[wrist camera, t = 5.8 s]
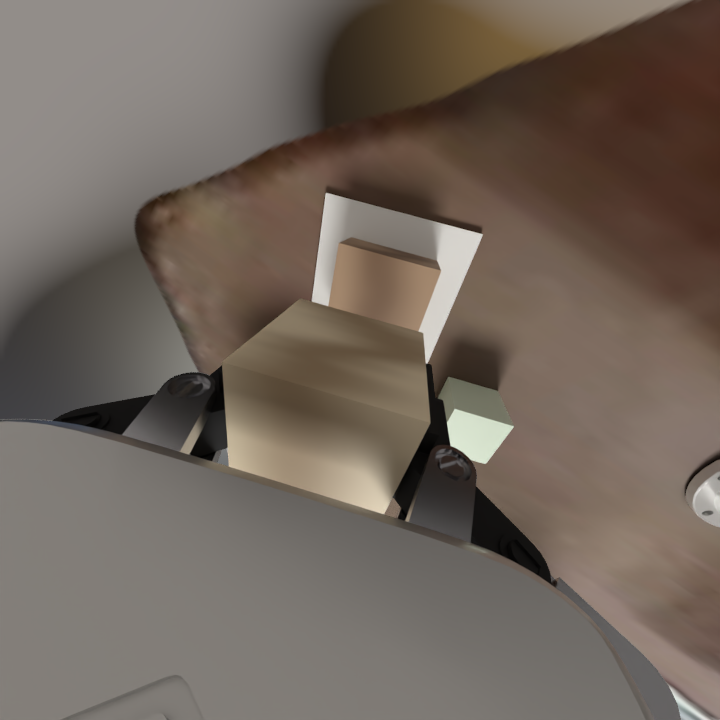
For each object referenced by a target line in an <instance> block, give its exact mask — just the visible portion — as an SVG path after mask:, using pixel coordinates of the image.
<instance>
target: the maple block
mask: <svg viewBox="0 0 720 720" xmlns="http://www.w3.org/2000/svg"><path fill="white" fill-rule="evenodd" d="M222 371H223V386H224V400H225V414H226V429H227V443H228V457H229V467H232V468H235V469H238V470H242V471H245V472H248V473H251V474H255V475H258V476H261V477H265V478H268V479H271V480H274V481H278V482H281V483H284V484H287V485H291V486H294V487H297V488H300V489H304V490H307V491H310V492H313V493H317V494H320V495H323V496H326V497H330V498H333V499H336V500H339V501H343V502H346V503H349V504H352V505H355V506H359V507H362V508H365V509H368V510H371V511H375V512H378V513H381V514H384V513H385V511H386V509H387V507H388V505H389V503H390V501H391V499H392V497H393V495H394V493H395V491H396V489H397V488H398V486H399V484H400V482H401V480H402V478H403V476H404V474H405V472H406V470H407V468H408V466H409V464H410V462H411V460H412V458H413V456H414V454H415V452H416V450H417V448H418V446H419V444H420V443H421V441H422V439H423V437H424V435H425V433H426V431H427V429H428V427H429V425H430V410H429V398H428V385H427V373H426V361H425V348H424V336H423V333H422V332H418V331H415V330H411V329H408V328H404V327H400V326H397V325H393V324H390V323H386V322H383V321H379V320H376V319H372V318H368V317H365V316H361V315H358V314H354V313H351V312H347V311H343V310H340V309H336V308H333V307H329V306H326V305H322V304H318V303H315V302H311V301H308V300H304V299H301V298H300V299H299V300H298V301H297V302H295V303H294V304H293V305H292V306H290V307H289V308H288V309H287V310H285V311H284V312H283V313H282V314H281V315H279V316H278V317H277V318H276V319H274V320H273V321H272V322H271V323H269V324H268V325H267V326H266V327H264V328H263V329H262V330H261V331H260V332H258V333H257V334H256V335H255V336H253V337H252V338H251V339H250V340H248V341H247V342H246V343H245V344H243V345H242V346H241V347H240V348H239V349H237V350H236V351H235V352H234V353H232V354H231V355H230V356H229V357H227V358H226V359H225V360H224V361H222Z"/></svg>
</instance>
